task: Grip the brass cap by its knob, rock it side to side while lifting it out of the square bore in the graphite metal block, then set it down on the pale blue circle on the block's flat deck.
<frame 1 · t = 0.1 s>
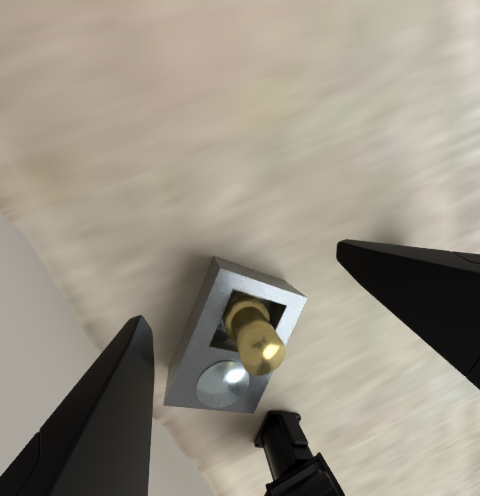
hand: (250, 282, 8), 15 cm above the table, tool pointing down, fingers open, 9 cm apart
brass cap: (241, 309, 24), point 2 cm above the table, touching housing
housing: (229, 323, 26), on the table
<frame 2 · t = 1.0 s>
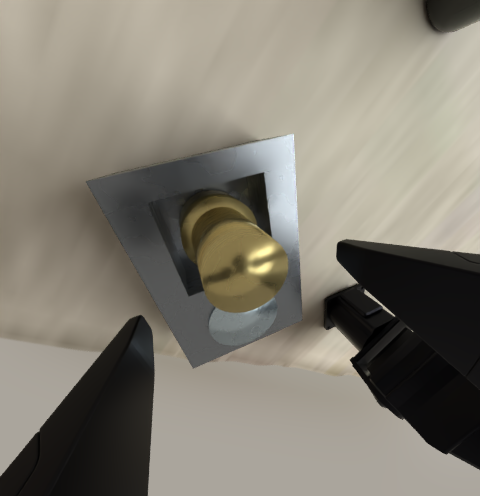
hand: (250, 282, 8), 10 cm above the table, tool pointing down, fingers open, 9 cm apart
brass cap: (213, 223, 15), point 2 cm above the table, touching housing
housing: (218, 247, 18), on the table
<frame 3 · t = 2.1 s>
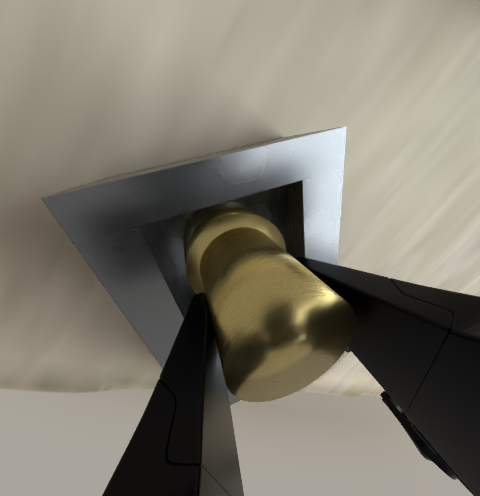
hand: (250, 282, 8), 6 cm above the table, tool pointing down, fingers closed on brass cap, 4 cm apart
brass cap: (225, 242, 12), point 2 cm above the table, touching gripper, housing
housing: (229, 267, 15), on the table
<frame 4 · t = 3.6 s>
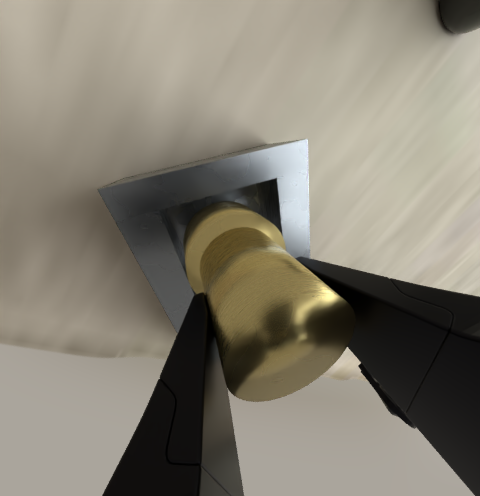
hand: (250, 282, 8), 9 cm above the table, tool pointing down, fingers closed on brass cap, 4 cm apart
brass cap: (225, 241, 12), point 5 cm above the table, touching gripper
housing: (226, 252, 18), on the table
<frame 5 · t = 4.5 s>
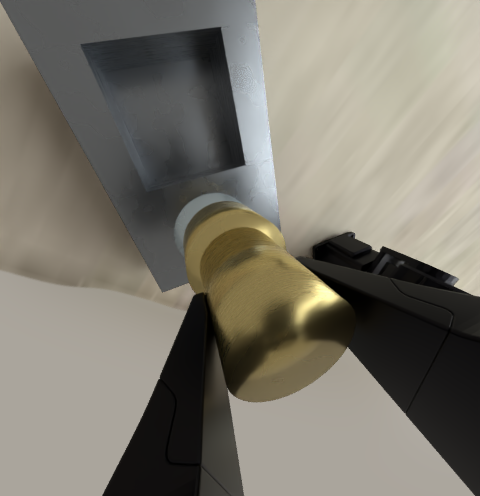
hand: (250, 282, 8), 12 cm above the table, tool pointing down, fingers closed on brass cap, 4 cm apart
brass cap: (225, 242, 12), point 8 cm above the table, touching gripper
housing: (189, 167, 17), on the table
when the fingers open (11 cm above the table, at t = 5.1 s): brass cap stays where it is, resting on housing.
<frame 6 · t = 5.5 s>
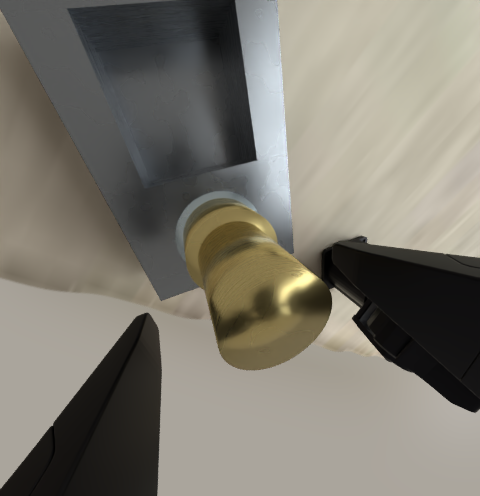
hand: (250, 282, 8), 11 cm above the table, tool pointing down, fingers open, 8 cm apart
brass cap: (222, 236, 13), point 5 cm above the table, touching housing
housing: (193, 163, 15), on the table
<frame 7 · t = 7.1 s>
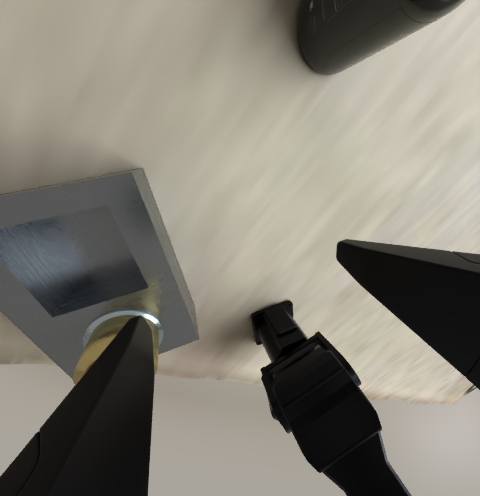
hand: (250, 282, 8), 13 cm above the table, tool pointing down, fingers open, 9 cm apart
supplement bottle: (327, 25, 16), on the table
brass cap: (126, 338, 16), point 5 cm above the table, touching housing
housing: (117, 265, 19), on the table
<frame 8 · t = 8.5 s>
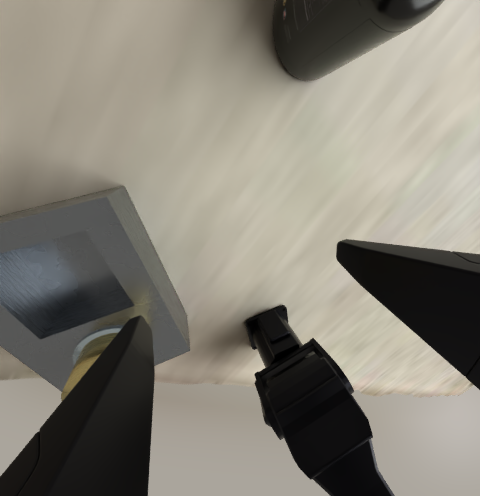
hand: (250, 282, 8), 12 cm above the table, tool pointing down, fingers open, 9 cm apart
supplement bottle: (305, 30, 15), on the table
brass cap: (116, 354, 16), point 5 cm above the table, touching housing
housing: (106, 281, 19), on the table
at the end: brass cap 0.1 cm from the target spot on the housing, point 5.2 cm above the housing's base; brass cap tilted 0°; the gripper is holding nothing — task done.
